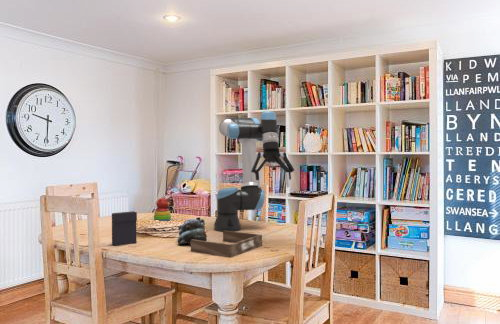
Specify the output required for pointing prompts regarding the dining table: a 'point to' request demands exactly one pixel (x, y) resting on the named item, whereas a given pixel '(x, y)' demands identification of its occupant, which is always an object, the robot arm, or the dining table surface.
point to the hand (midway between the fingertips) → (274, 186)
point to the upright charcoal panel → (124, 228)
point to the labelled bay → (239, 246)
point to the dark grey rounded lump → (192, 231)
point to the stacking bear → (162, 210)
